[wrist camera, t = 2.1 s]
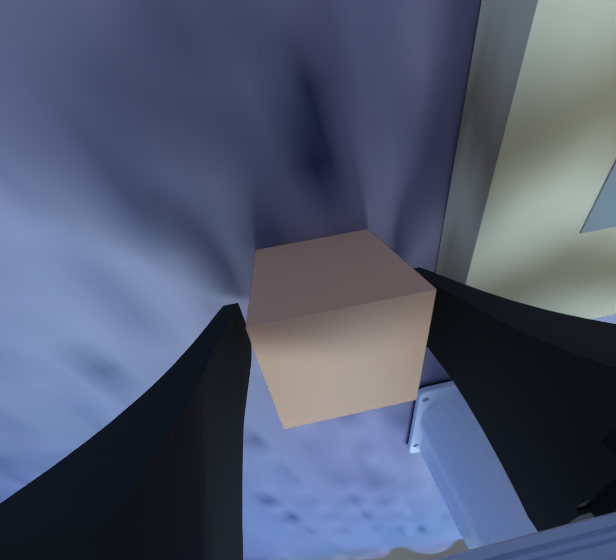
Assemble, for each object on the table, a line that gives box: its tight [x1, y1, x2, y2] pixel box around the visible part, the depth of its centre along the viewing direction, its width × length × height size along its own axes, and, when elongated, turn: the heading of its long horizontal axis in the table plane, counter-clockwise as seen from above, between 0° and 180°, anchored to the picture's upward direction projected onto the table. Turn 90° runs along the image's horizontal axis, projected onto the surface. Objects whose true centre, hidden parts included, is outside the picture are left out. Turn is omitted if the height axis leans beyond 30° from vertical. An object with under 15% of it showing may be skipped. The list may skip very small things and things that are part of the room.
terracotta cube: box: [246, 229, 437, 429], centre depth 9 cm, size 5×5×5 cm
